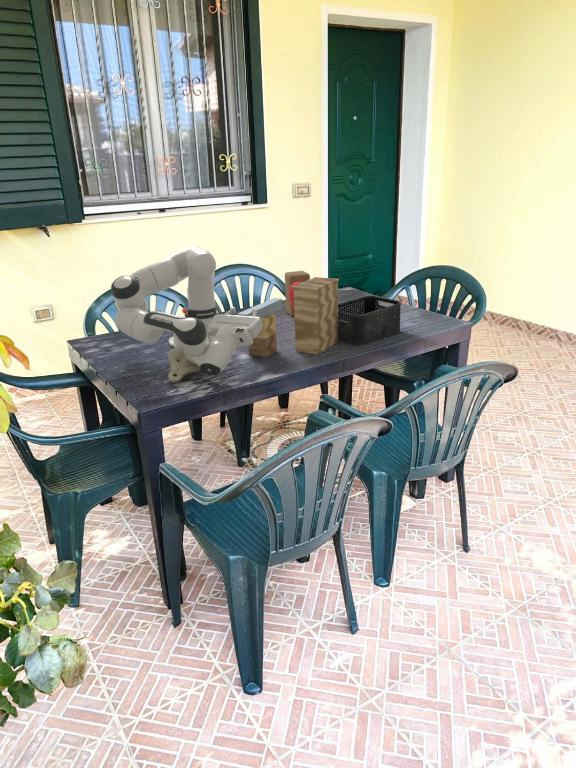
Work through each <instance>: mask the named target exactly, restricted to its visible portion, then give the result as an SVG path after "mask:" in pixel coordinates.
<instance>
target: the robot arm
mask: <svg viewBox="0 0 576 768" xmlns="http://www.w3.org/2000/svg"><path fill="white" fill-rule="evenodd" d="M213 255H214V254H212V253H211V252H210V251H208V250H207V249H204V248H202V247H199V246H198V245H197V246H196V245H192V246H191V245H190V246H187V247H185V248H183V249H181V250H179V251H177V252H176V253H173V254H172V255H170V256H169V257H167V258H164V259H162V260H160V261H157V262H155V263H152V264H149V265H147V266H144V267H142V268H140V269H138V270H136V271H135V272H133V273H131V274H130V275H121V276H118V277H117V278H115V279H114V280H113V282H111V286H110V290H111V295H112V296H113V299H114V303H115V305H116V308H117V310H118V311H117V313H116V314H115V318H114V322H115V326H116V328H117V329H118V330H120V331H121V332H122V333H124V334H126V335H127V336H128V337H131V338H132V339H135V340H137V341H139V342H141V343H146V344H152V343H154V342H157V341H158V340H159V339H160V338H161V336H163V333H164V332H168V333H172V334H173V336H171V337H170V338H169V339H168V344H169V346H170V347H172V346H173V348H175V347H181V346H182V348H183V351H184V353H185V355H186V358H187V359H188V361H189V362H191V363H193V364H196V365H198V366H199V368H200V369H201V370H200V371H201V372H202V373H203V374H205V375H206V376H207V375H208V376H213V377H214V376H218V375H219V374H221V373H222V372H223V371H224V370H225V368H226V367H228V366H227V365H228V364H229V362H230V360H231V359H232V355H233V353H234V352H235V351H236V350H237V349H239V348H242V347H247V346H248V347H249V345H252V343H253V339H254V338H256V337H257V336H258V334H259V333H260V331H261V329H262V328H263V322H262V320H261V318H260V317H257V313H258V311H257V309H253V310H252V311H251V312H252V314H253V315H252V316H238V315H235V314H236V313H237V309H236V307H231V308H230V309H229V310H228V311H226V312H225V313H224V314H223V313H221V314H220V313H218V309H217V306H216V302H215V301H216V299H215V290H214V289H215V285H214V284H215V275H216V274H215V273H216V272H215V271H216V268H217V261H216V258H215V257H214V256H213ZM187 278H188V280H187V288H186V293H187V294H186V295H187V303H188V308H186V307H183V308H182V309H181V311H182V313H183V314H184V316H178V315H175V314H171V313H168V312H162V311H157V310H153V311H150V309H149V307H148V303H147V299H146V297H148V296H152V295H155V294H157V293H160V292H162V291H164V290H167V289H169V288H172V287H176V285H179V283H181V282H182V281H184V280H186V279H187Z"/></svg>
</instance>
